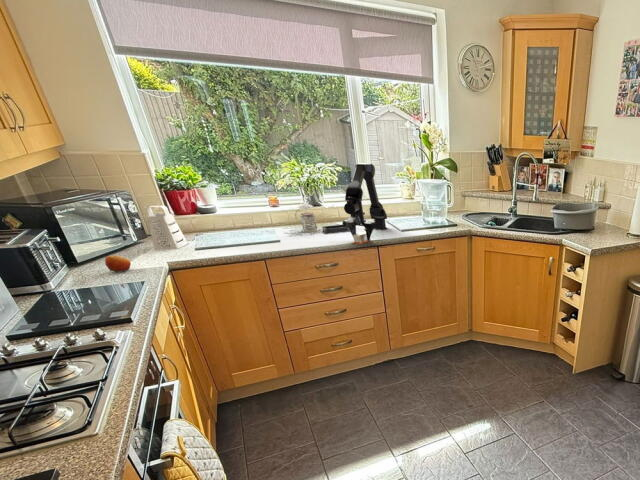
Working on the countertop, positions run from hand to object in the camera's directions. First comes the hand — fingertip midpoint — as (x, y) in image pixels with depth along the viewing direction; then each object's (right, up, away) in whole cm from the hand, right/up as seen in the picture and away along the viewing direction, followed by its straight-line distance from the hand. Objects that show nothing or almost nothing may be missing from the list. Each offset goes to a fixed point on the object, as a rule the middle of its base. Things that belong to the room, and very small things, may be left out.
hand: (361, 239), depth 231 cm
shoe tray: (-23, +12, +23) cm, 34 cm away
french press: (-40, +12, +21) cm, 47 cm away
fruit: (-86, -28, -52) cm, 104 cm away
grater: (-94, -8, -16) cm, 95 cm away
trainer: (0, -1, +1) cm, 1 cm away
